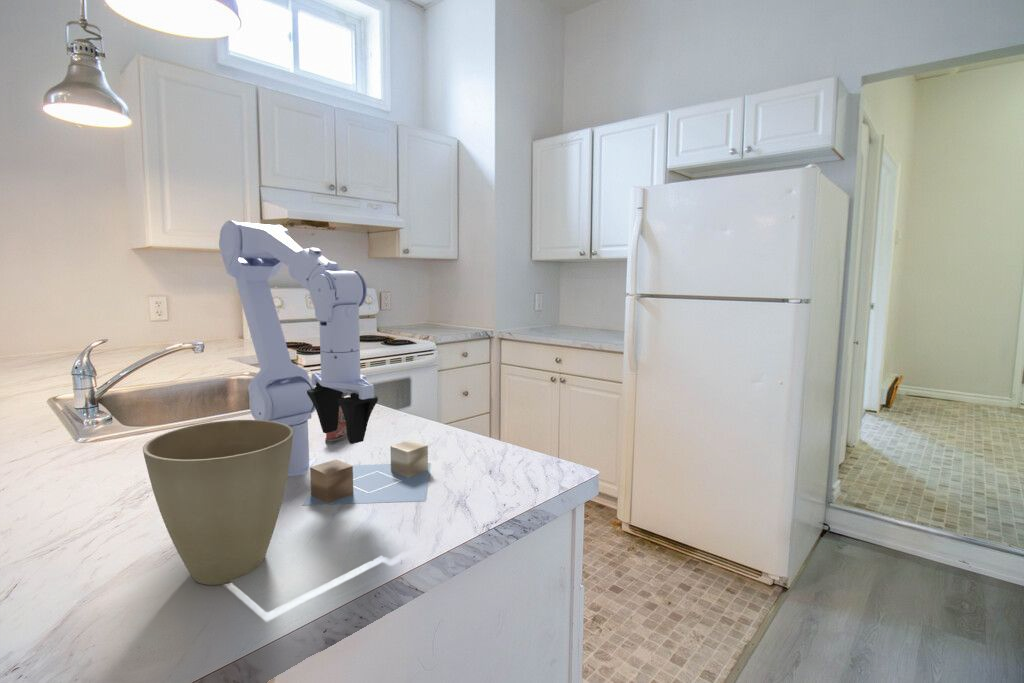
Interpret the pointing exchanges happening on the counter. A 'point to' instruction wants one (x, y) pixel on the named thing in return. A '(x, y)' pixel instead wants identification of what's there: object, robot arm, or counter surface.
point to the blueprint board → (381, 486)
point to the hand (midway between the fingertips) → (342, 436)
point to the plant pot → (220, 492)
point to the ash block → (409, 458)
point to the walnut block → (331, 480)
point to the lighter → (338, 428)
